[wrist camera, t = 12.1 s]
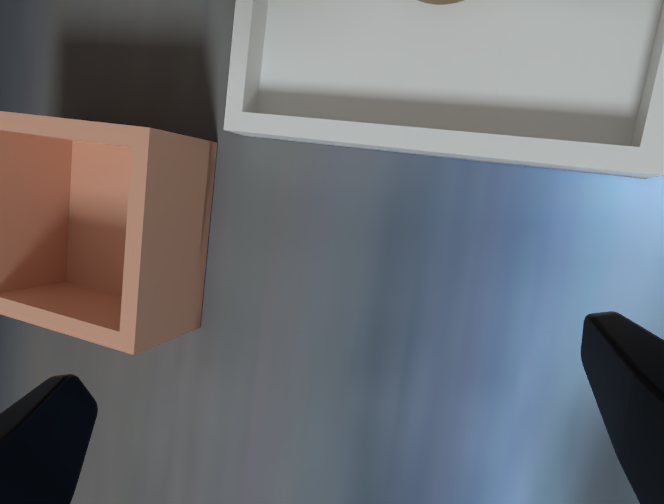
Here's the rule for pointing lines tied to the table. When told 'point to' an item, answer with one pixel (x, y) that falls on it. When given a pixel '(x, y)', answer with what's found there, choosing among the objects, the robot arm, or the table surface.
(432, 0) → the beech cylinder
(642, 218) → the table surface
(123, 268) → the cup holder
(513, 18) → the grey tray
